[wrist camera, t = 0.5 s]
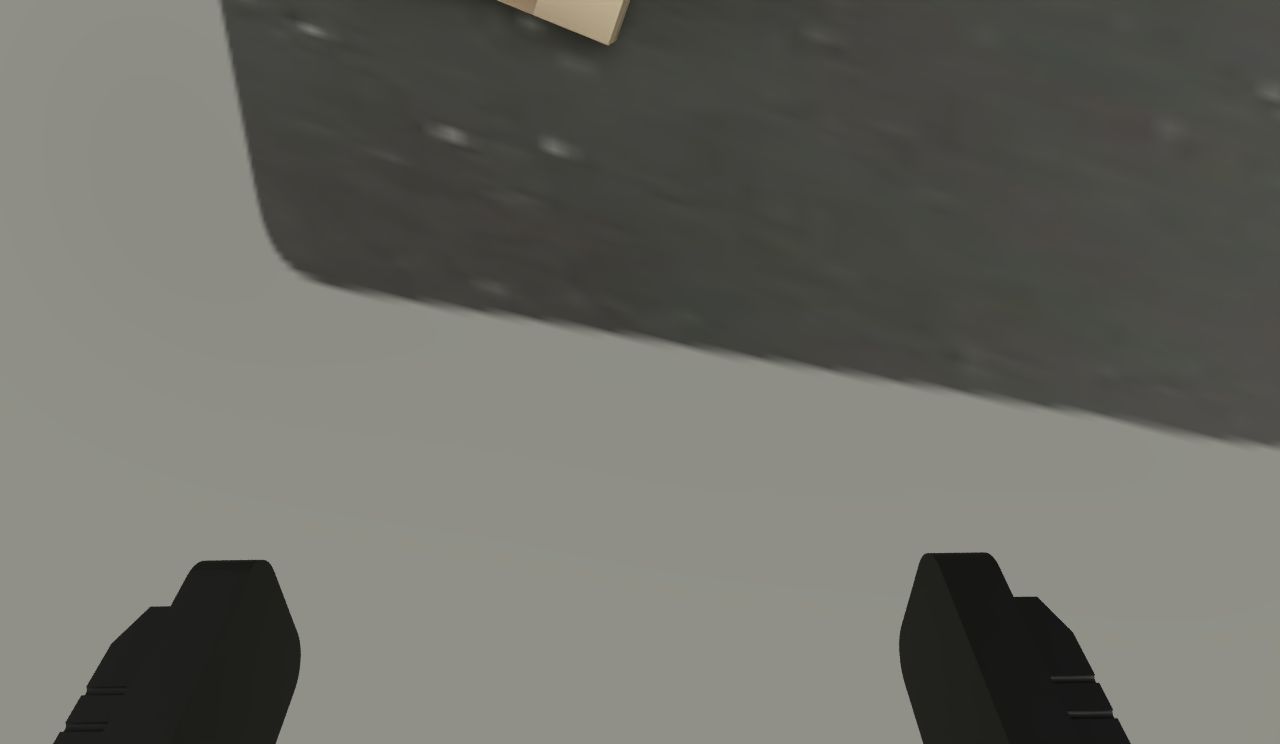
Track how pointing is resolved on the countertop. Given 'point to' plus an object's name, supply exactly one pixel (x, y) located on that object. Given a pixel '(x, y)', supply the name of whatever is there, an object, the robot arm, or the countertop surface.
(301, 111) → the countertop surface
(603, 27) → the socket
